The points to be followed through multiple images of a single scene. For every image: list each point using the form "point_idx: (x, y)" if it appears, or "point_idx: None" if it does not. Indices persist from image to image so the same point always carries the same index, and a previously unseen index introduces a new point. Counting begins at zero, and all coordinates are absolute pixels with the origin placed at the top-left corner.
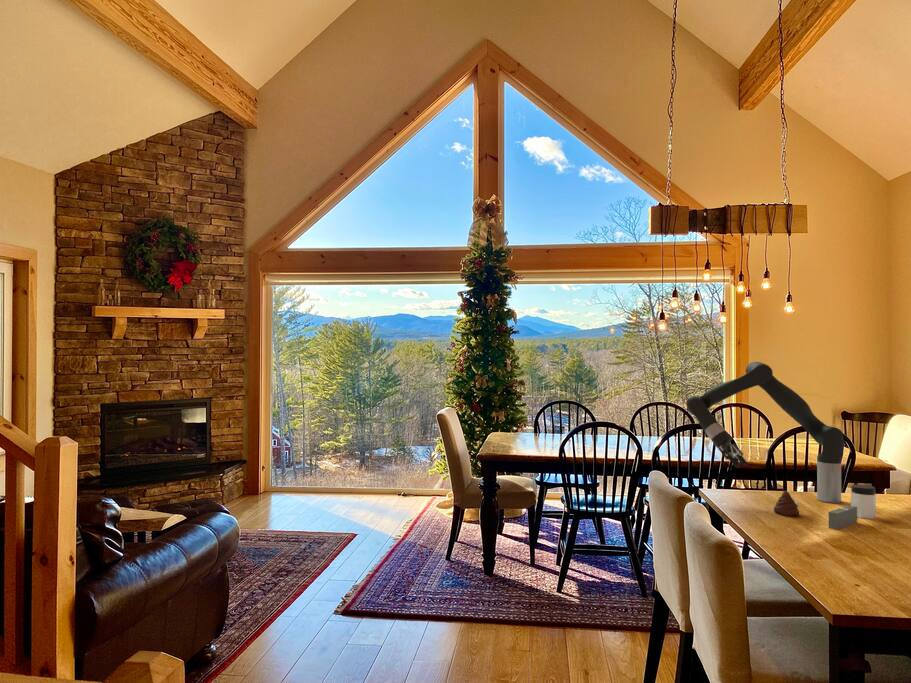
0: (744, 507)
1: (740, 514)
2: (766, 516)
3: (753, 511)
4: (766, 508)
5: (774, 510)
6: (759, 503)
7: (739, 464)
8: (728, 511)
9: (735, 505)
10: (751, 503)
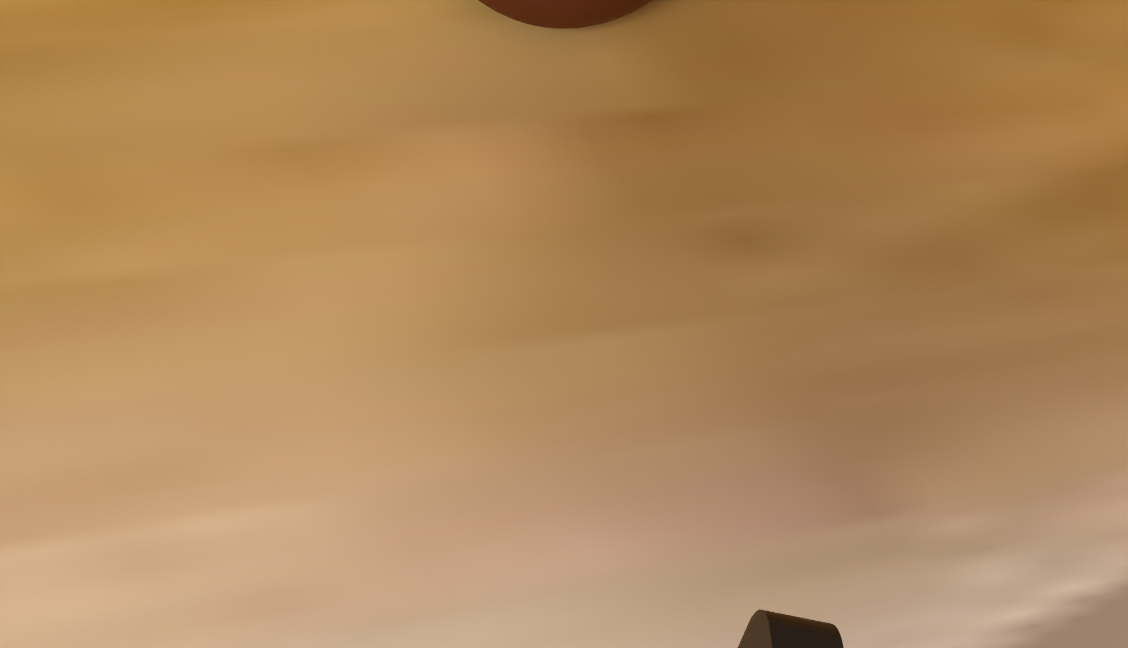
0: (535, 449)
1: (1034, 422)
2: (920, 101)
3: (727, 291)
4: (393, 148)
5: (636, 9)
6: (59, 284)
7: (815, 629)
8: (964, 607)
9: (474, 600)
10: (143, 399)
